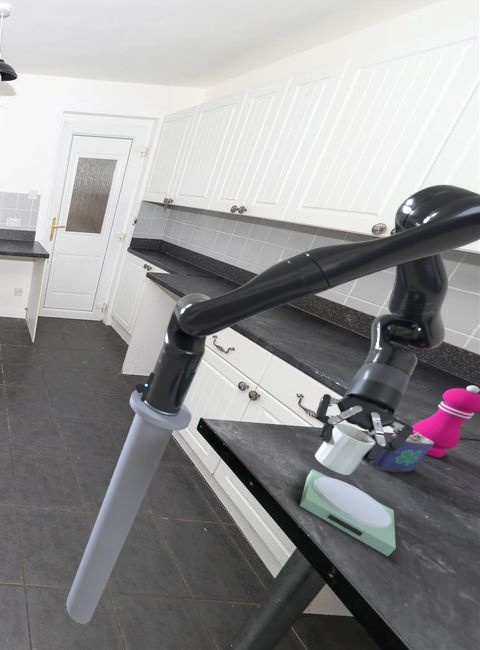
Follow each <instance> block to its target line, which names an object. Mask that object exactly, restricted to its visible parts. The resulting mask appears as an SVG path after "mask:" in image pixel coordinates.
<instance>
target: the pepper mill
mask: <svg viewBox="0 0 480 650" xmlns="http://www.w3.org/2000/svg"><path fill="white" fill-rule="evenodd" d="M442 399H443V401H441V402H440V403H439V404H438V409H437V411H436V412H435V413H434V414H433V415H432V416H430V417H427V418H425V419H422V420H419V421H418V422H416V423H415V424H414V425H412V426H411V427H412V428H413V429H414V431H415V432H418V433H419V434H421V435H422V436H424V437H426V438H428V439H429V440H431V441H433V442H434V445H433V446H432V447H431V448H430V449H429V450H428V451H427V453H426V454H425V455H428V456H431V457H434V458H442V457H444V456H445V455H446V453H448V451H447V450H448V449H449V450H450V449H454V448H457V446H458V444H459V443H460V438H461V426H462V425H463V423H464V422H465V421H466V420H467V419H468V420H469V419H472V417H473V416H474V415H475V412H480V388H479V386H476V385H468V386H467V387H466V388H460V387H456V388H455V387H454V388H450V389H448V390H446V391H444V392H443V394H442ZM414 431H413V432H412V433H411V434H412V435H414V434H416V433H415V432H414Z"/></svg>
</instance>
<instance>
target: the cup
mask: <svg viewBox="0 0 480 650" xmlns="http://www.w3.org/2000/svg"><path fill="white" fill-rule="evenodd" d="M333 426H334V428H333V430H332V432H331V434H330V436H329V438H328V440H327V441H325V442H324V441H322V443H321V444H320V446H319V448H318V449H317V450H316V452H315V454H314V457H315V459H316V460H317V461H318V463H320V464H321V465H322V466H324V467H326V468H327V469H328V470H331V471H333V472H335V473H337V474H340V475H344V476H350V475H352V474H353V473H354V472H355V471H356V470H357V468H358V467H359V466H360V464H361V463H362V462H363V461H364V458H365V456H366V455H367V454H368V453H369V451H370V450H371V449H372V447H373V446H374V445H375V441H374V439H373V438H372V437H370V436H369V434H368V433H366V432H364V431H362V430H360V429H358V428H356V427H354V426H352V425H348V424H344V423H337V424H335V425H333Z"/></svg>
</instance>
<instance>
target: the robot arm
mask: <svg viewBox="0 0 480 650" xmlns="http://www.w3.org/2000/svg"><path fill="white" fill-rule="evenodd" d="M478 241H480V193H478V192H474V191H472V190H469V189H466V188H463V187H459V186H456V185H451V184H435V185H431V186H427V187H425V188H422V189H419V190H418V191H416V192H414V193H413V194H412V195H409V197H407V198H406V199H405V200H403V202H402V203H401V204H400V205H399V207H398V208H397V210H396V212H395V217H394V234H391V235H387V236H384V237H380V238H376V239H370V240H364V241H355V242H345V243H337V244H335V243H334V244H329V245H322V246H317V247H312V248H309V249H306V250H304V251H303V250H302V251H301V252H299V253H296V254H294V255H291V256H289V257H287V258H284V259H282V260H280V261H278V262H276V263H273V264H272V265H270V266H268V267H267V268H265V269H264V270H262V271H261V272H260V273H258V274H257V275H255V276H254V277H252V278H251V279H250V280H248V281H247V282H246V283H244V284H243V285H241V286H240V287H237V288H235V289H233V290H231V291H229V292H226V293H222V294H221V295H217V296H215V297H212V298H211V297H209V296H208V295H207V294H203V293H197V292H196V293H189V294H186V295H184V296H183V297H181V298H179V299H178V300H177V302H176V303H175V305H174V307H173V310H172V313H171V315H170V317H169V320H168V324H167V327H166V330H165V333H164V340H163V344H162V346H161V350H160V353H159V354H158V358H157V359H156V362H155V365H154V369H153V370H152V371H151V372H150V373H149V375H148V378H146V377H145V378H144V379H142V380H140V382H139V381H138V382H137V383H136V384H135V387H134V388H135V390H137V392H138V393H143V394H142V397H141V399H140V400H141V401H142V402H144V403H145V405H146V406H147V407H148V408H150V409H151V410H153V411H155V412H157V413H159V414H162V415H165V416H177V415H178V414H179V412H180V409H181V407H182V404H184V402H185V399H186V397H187V395H188V393H189V390H190V388H191V386H192V384H193V381H194V379H195V377H196V375H197V373H198V370H199V368H200V366H201V362H202V360H203V358H204V356H205V354H206V353H205V352H206V341H207V337H208V336H209V337H210V336H212V335H215V334H217V333H219V332H222V331H224V330H226V329H229V328H230V327H232V326H234V325H236V324H239V323H241V322H243V321H245V320H248V319H250V318H252V317H254V316H257V315H260V314H263V313H266V312H269V311H272V310H274V309H278V308H281V307H283V306H286V305H289V304H291V303H294V302H297V301H300V300H303V299H306V298H309V297H312V296H314V295H318V294H320V293H323V292H327V291H328V290H331V289H334V288H336V287H338V286H341V285H344V284H347V283H349V282H352V281H355V280H358V279H361V278H364V277H367V276H369V275H372V274H376V273H378V272H379V273H380V272H381V271H385V270H388V269H391V268H393V267H395V275H394V282H393V286H392V290H391V294H390V297H389V302H388V307H387V308H388V311H389V312H390V313H383V314H379V315H378V316H377V317H375V318H374V319H373V320H372V322H371V326H370V346H369V347H370V348H369V351H368V352H367V353H368V354H367V356H366V357H365V360H364V362H363V363H362V365H361V366H360V368H359V369H357V371H356V373H355V374H354V376H353V377H352V380H351V383H350V385H349V386H348V388H347V390H346V392H345V394H344V396H343V397H342V398H340V399H338V398H335V397H333V396H331V394H329V393H324V394H323V395H322V396H321V398H320V399H319V403H318V406H317V410H316V412H315V416H314V418H315V419H316V420H318V421H320V422H321V423H322V424H323V425H322V428H321V429H320V431H319V433H318V437H320V438H321V439H320V440H321V441H322V442H325V441H327V440H328V438H329V436H330V434H331V432H332V430H333V428H334V426H335V424H341V423H343V422H344V421H346V423H348V424H350V425H354V426H357V427H358V428H360V429H362V430H365V431H367V434H368V435H369V436H370V437H372V438H373V439H374V441H375V445H374V446H373V447H372V449H371V450H370V451H369V453H368V454H367V455H366V456H365V458H364V459H363V461H365V462H368V463H369V462H371V461H374V460H376V459H378V458H379V456H380V454H381V452H382V450H383V449H386V450H389V451H395V450H397V449H400V448H401V446H402V445H403V444H404V442H405V441H406V440H407V439H408V437H409V436H410V435H412V434H413V433H412V432H413V431H414V429H413V428H412V427H413V426H410V425H404V424H401V423H400V422H397V421H395V417H394V415H395V413H396V411H397V409H398V407H399V406H400V402H401V401H402V399H403V397H404V395H405V392H406V391H407V388H408V386H409V385H408V384H409V380H410V378H411V376H412V374H413V372H414V370H415V368H416V366H417V364H418V357H417V355H416V354H415V353H413V352H411V351H410V350H408V349H406V348H403V347H407V348H410V349H416V350H423V351H427V350H432V349H435V348H437V347H439V346H440V345H441V344H442V343H443V342H444V340H445V338H446V327H445V325H444V322H443V319H442V313H441V311H442V307H443V304H444V302H445V299H446V296H447V295H448V294H447V293H448V291H449V278H448V272H447V269H446V265H445V262H444V259H443V253H446V252H450V251H452V250H456V249H459V248H462V247H466V246H468V245H471V244H473V243H475V242H478ZM400 346H401V347H400ZM334 405H337V408H338V410H339V412H340V413H338V414H336V415H335V416H332V417H329V416H327V413H328V409H329V407H333V406H334ZM386 427H391V428H392V432H393V434H396V435H395V436H394V437H393V439H392V440H391V441H390V443H389V442H386V439H385V431H384V428H386Z"/></svg>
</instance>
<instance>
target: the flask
mask: <svg viewBox="0 0 480 650" xmlns="http://www.w3.org/2000/svg"><path fill="white" fill-rule="evenodd" d="M414 432H415V431H414ZM415 433H416V434H411V435H410V436H409V437H408V439H407V440H406V441H405V442H404V444H403V445H402V446H401V448H400V449H397V450H395V451H389V450H386V449H383V450H382V452H381V454H380V456H379V458H378V459H376V460H374V461H372V460H371V461H370V465H372V466H373V467H375V468H376V469H380V470H381V471H382V470H383V471H387V472H392V473H393V472H394V473H399V472H400V473H410V472H412V471H413V470H414V469H415V467H416V466H417V465H418V464H419V463H420V461H421V460H422V459H423V458H424V456H425V455H427V454H426V453H427V451H428V450H429V449H430V448H431V447H432V446H433V445H434V442H433V441H431V440H429V439H428V438H426V437H424V436H422V435H421V434H419V433H418V432H415ZM395 435H396V434H395V433H391V434H390V435H389V437H388V438H387V439H386V440H385V442H389V443H390V441H391V440H392V439H393V437H394V436H395Z"/></svg>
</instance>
